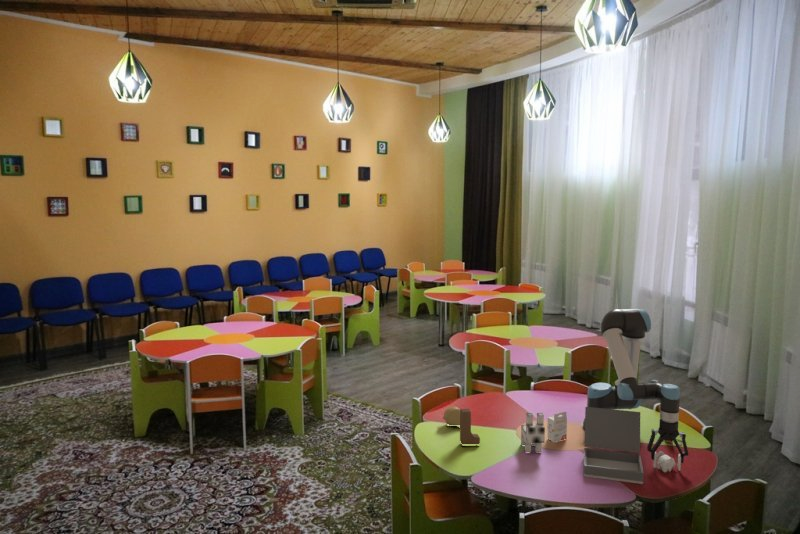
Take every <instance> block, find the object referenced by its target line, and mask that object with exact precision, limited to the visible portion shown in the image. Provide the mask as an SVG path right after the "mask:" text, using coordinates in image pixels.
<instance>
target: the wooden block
mask: <svg viewBox="0 0 800 534" xmlns="http://www.w3.org/2000/svg"><path fill="white" fill-rule="evenodd" d="M459 409H460V428H459V442H460V441H461V443H462V444H479V443H480V444H481V439H480V436H479V434H478V433H473V432H472V430H471V429H472V411H471V410H470V409H469V408H459Z"/></svg>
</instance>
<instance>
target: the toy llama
mask: <svg viewBox="0 0 800 534" xmlns="http://www.w3.org/2000/svg"><path fill="white" fill-rule="evenodd" d="M525 416H526V417H525V423H526V424H521V431H520V432H521V434H520V445H521V444H522V445H525V447H524V450H525V451H524V453H525V452H531V453H532V445H535V446H534V452H535V451H536V452H541V453H542V448H543V447H542V446H543V445H542V444H545V439H546V438H545V437H546V436H545V433H546V427H545V426H544V417H545V416H544V413H543V412H537V413H536V423H535V422H534V415H533V413H532V412H526V415H525ZM531 443H532V445H531ZM522 445H521V446H522ZM536 452H535V453H536Z"/></svg>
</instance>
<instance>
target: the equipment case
mask: <svg viewBox="0 0 800 534" xmlns="http://www.w3.org/2000/svg"><path fill="white" fill-rule="evenodd" d="M643 468H644V467H643V463H642V457H641V454H640V453H633V452H625V451H616V450H608V449H599V448H591V447H584V449H583V477H586V478H594V479H601V480H610V481H617V482H624V483H632V484H640V485H644V477H645V476H644V475H645V472H644V469H643Z"/></svg>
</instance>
